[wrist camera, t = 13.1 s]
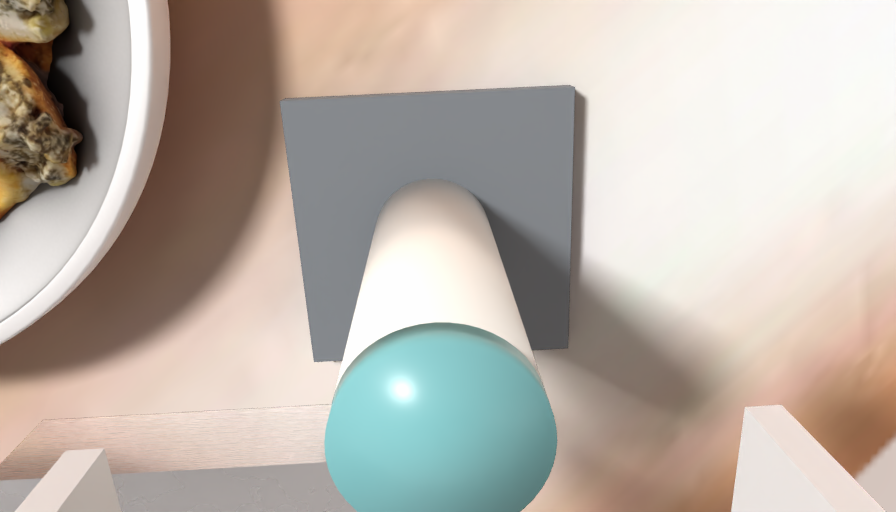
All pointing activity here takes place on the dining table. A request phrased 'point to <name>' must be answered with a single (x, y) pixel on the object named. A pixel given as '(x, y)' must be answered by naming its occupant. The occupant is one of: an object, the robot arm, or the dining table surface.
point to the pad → (433, 157)
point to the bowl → (73, 139)
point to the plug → (438, 369)
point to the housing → (192, 460)
